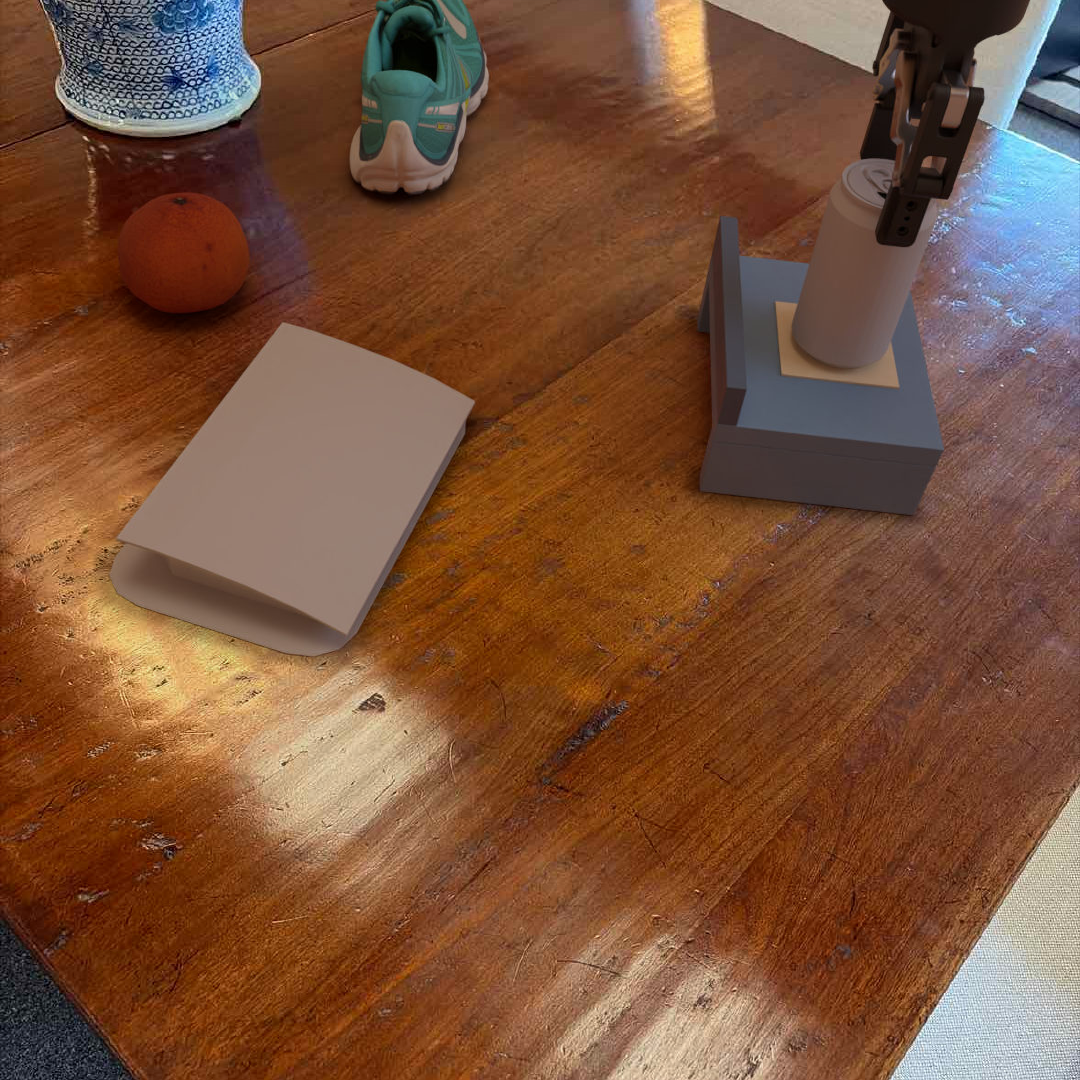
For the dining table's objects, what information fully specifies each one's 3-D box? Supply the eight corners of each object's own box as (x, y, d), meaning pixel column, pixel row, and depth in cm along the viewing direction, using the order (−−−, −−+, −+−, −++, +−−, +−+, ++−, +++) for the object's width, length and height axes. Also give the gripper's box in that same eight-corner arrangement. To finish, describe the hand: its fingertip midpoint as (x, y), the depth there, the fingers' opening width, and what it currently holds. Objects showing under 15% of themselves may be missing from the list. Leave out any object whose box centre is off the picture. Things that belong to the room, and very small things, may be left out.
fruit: (229, 248, 90) (216, 153, 84) (269, 317, 85) (258, 220, 79) (111, 274, 87) (89, 177, 81) (145, 347, 82) (124, 249, 76)
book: (90, 590, 68) (75, 545, 65) (272, 350, 83) (267, 305, 80) (338, 670, 66) (334, 627, 63) (480, 409, 81) (482, 364, 78)
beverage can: (822, 384, 76) (877, 222, 67) (770, 323, 79) (815, 162, 70) (904, 363, 78) (968, 203, 69) (849, 305, 81) (903, 146, 72)
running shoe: (490, 46, 115) (496, -79, 106) (482, 215, 96) (489, 81, 87) (373, 37, 114) (370, -89, 106) (343, 206, 95) (336, 69, 87)
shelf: (882, 340, 89) (921, 238, 83) (913, 516, 77) (961, 413, 71) (697, 319, 89) (720, 215, 82) (699, 491, 77) (726, 386, 70)
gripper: (1088, -17, 54) (965, 280, 66) (1027, -132, 63) (930, 146, 75) (923, -35, 54) (831, 265, 66) (887, -148, 63) (812, 132, 75)
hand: (883, 201), depth 71 cm, fingers open, 8 cm apart
